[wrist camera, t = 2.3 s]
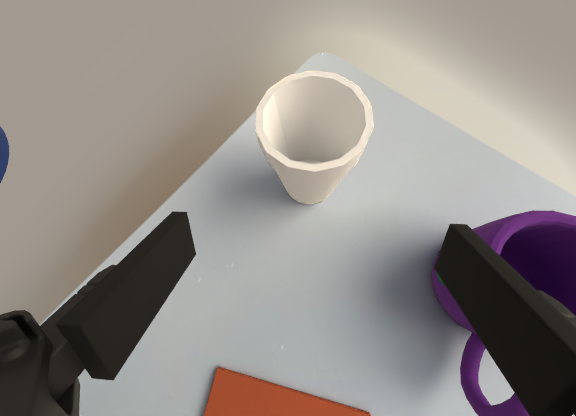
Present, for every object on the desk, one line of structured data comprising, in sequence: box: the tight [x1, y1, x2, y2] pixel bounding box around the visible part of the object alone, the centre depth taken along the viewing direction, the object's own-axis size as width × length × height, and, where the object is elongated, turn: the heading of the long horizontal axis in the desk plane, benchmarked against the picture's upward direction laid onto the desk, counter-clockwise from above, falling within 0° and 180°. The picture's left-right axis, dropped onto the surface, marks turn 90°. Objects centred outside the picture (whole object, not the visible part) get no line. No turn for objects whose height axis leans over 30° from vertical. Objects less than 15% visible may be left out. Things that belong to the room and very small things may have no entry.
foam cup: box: [255, 70, 374, 205], centre depth 26 cm, size 10×9×13 cm
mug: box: [432, 211, 576, 416], centre depth 22 cm, size 17×11×10 cm, turn 155°
